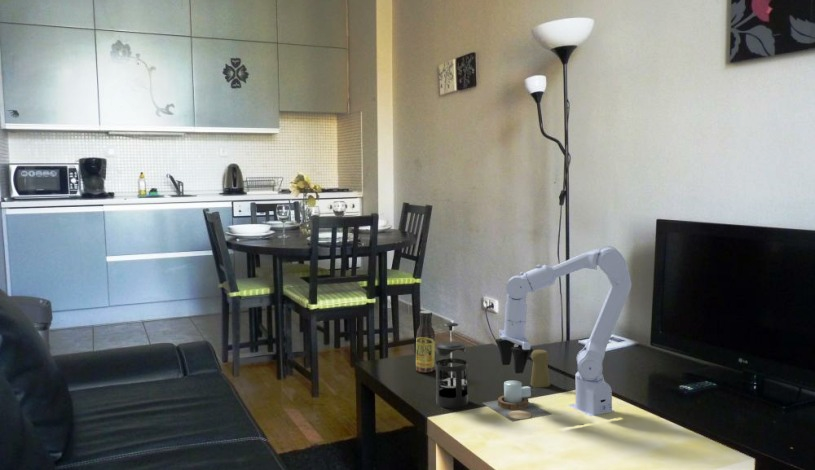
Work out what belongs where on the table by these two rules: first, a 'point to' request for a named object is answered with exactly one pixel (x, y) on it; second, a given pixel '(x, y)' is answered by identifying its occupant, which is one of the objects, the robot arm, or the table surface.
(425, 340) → the sauce bottle
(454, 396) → the french press
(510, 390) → the white ceramic mug
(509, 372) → the table surface
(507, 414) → the board
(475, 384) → the table surface
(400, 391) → the table surface
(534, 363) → the pepper shaker
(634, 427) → the table surface
